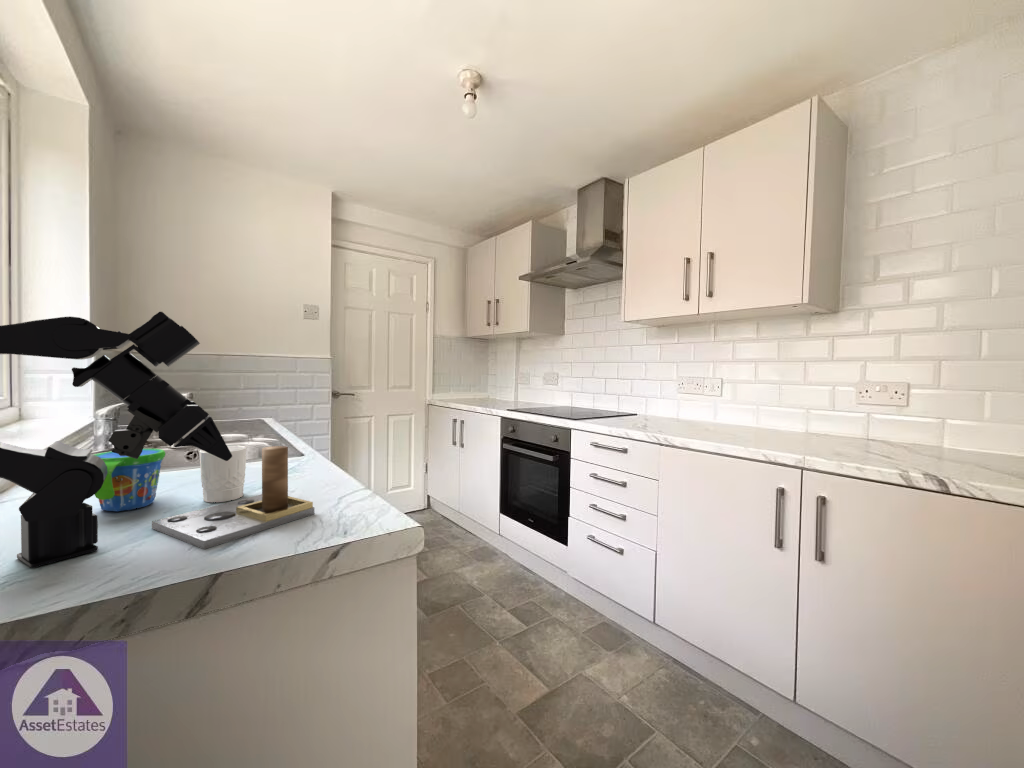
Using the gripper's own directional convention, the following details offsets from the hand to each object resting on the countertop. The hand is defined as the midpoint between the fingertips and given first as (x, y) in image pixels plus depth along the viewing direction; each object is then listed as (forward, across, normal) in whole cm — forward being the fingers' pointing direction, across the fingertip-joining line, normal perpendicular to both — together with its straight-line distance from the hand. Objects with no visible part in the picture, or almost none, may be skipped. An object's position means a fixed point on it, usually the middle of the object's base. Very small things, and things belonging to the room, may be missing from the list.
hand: (226, 454), depth 71 cm
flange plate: (+10, -2, -7) cm, 12 cm away
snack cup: (-1, -22, -18) cm, 29 cm away
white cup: (+9, -19, -7) cm, 22 cm away
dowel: (+12, 0, -2) cm, 13 cm away
